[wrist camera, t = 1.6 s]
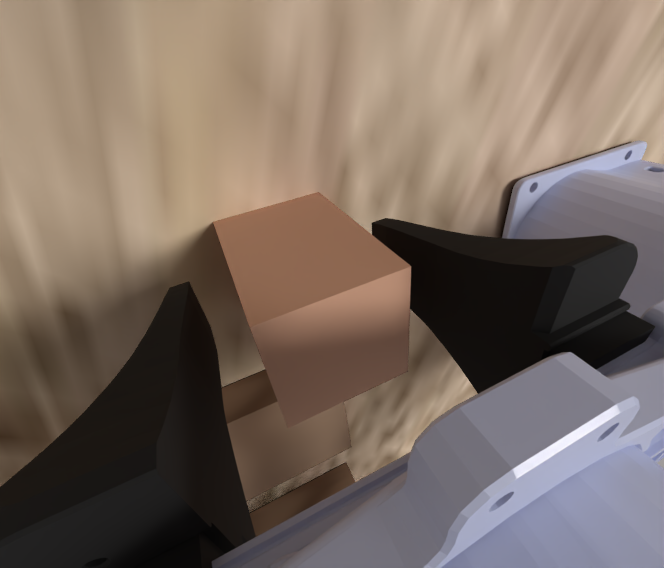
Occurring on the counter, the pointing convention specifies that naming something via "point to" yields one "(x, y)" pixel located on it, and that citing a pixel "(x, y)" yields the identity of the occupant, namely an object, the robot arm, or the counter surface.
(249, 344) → the counter surface
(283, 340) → the terracotta plug
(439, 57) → the counter surface
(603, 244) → the robot arm
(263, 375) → the notched board
